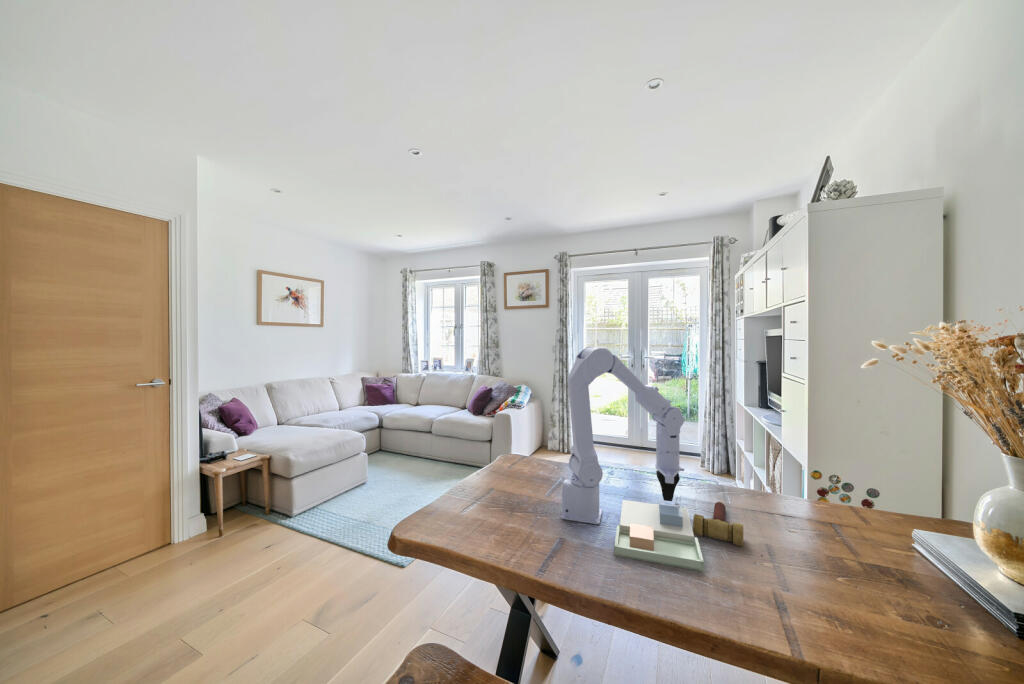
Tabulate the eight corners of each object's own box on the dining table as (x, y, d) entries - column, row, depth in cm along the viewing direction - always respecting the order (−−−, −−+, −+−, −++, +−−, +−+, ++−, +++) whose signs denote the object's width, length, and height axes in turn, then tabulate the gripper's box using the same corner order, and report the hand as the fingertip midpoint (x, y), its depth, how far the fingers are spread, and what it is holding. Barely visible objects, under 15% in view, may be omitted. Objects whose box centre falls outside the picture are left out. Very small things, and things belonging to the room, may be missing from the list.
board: (619, 533, 88) (619, 524, 88) (622, 507, 102) (622, 499, 102) (694, 545, 83) (694, 536, 83) (686, 516, 96) (686, 508, 96)
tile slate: (659, 523, 89) (659, 513, 89) (658, 514, 93) (658, 504, 93) (682, 527, 87) (682, 516, 87) (680, 517, 92) (680, 507, 92)
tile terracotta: (629, 546, 82) (629, 536, 82) (630, 533, 87) (630, 523, 87) (653, 551, 80) (653, 540, 80) (653, 537, 85) (653, 526, 85)
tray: (614, 555, 80) (614, 546, 80) (617, 533, 88) (617, 525, 88) (703, 571, 74) (703, 561, 74) (697, 546, 83) (697, 537, 83)
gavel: (700, 490, 105) (741, 498, 100) (699, 507, 105) (741, 516, 100) (693, 517, 87) (743, 529, 82) (692, 537, 87) (743, 550, 82)
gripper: (687, 460, 91) (687, 514, 91) (681, 443, 105) (681, 490, 105) (656, 457, 93) (656, 510, 94) (654, 441, 107) (654, 487, 108)
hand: (667, 499), depth 100 cm, fingers closed
